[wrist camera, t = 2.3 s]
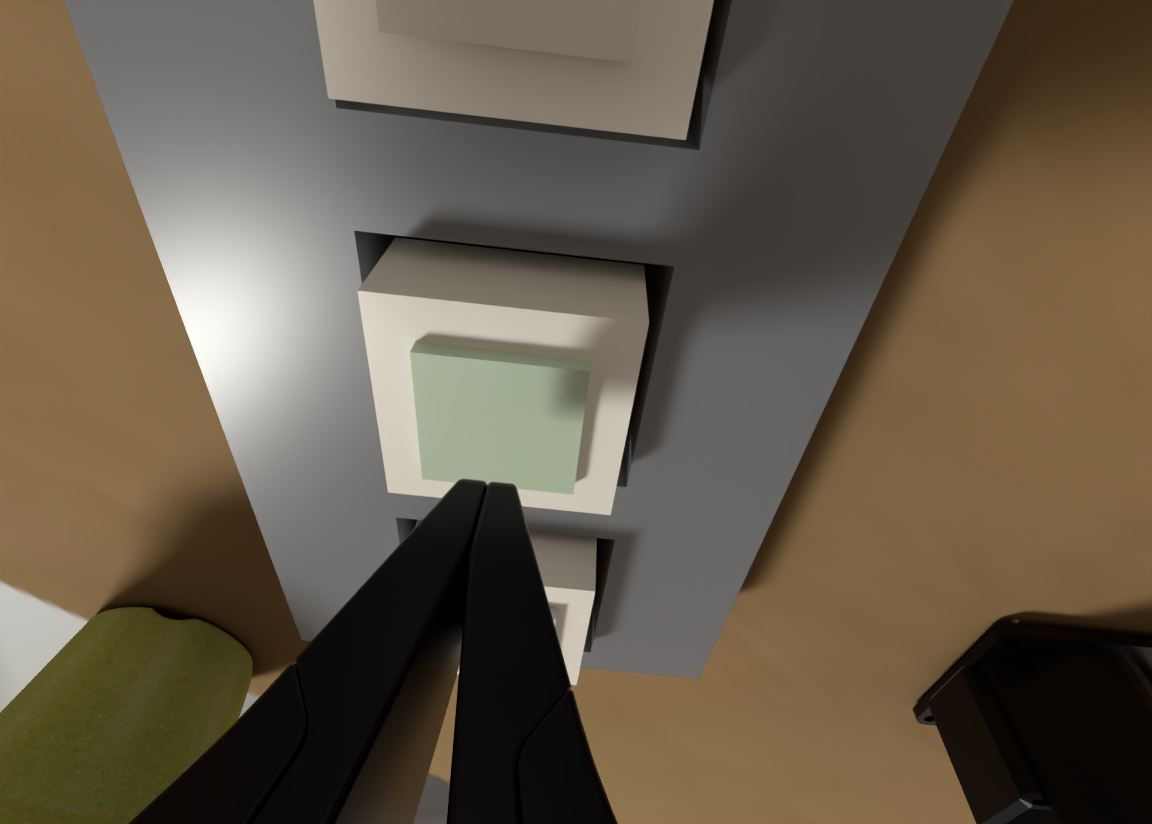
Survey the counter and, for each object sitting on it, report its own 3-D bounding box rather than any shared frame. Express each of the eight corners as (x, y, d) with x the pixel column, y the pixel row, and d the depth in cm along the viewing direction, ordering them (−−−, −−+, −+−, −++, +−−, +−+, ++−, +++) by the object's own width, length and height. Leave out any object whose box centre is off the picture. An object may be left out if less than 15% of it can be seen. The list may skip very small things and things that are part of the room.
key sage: (643, 265, 10) (650, 332, 9) (610, 447, 13) (610, 526, 11) (395, 237, 10) (350, 300, 9) (414, 426, 13) (383, 503, 11)
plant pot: (168, 549, 19) (-72, 881, 12) (347, 683, 24) (247, 968, 18) (-13, 604, 22) (-291, 902, 15) (184, 715, 27) (43, 973, 20)
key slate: (597, 523, 15) (594, 603, 13) (579, 619, 18) (576, 696, 16) (422, 505, 15) (396, 583, 13) (432, 604, 18) (411, 680, 16)
